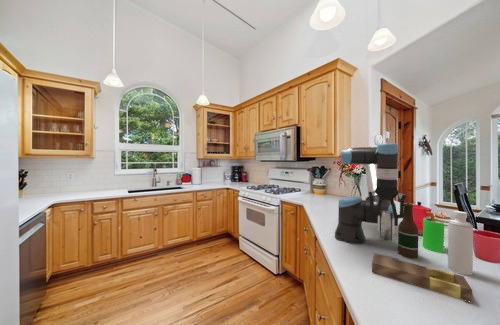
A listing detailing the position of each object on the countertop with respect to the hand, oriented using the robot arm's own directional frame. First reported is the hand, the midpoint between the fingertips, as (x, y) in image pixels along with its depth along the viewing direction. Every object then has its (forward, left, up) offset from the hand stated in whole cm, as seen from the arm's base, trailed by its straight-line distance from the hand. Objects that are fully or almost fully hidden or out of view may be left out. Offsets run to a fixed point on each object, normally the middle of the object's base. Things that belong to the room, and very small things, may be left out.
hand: (385, 231), depth 84 cm
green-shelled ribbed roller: (+19, +30, -13) cm, 37 cm away
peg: (0, 0, -3) cm, 3 cm away
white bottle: (+24, +9, -13) cm, 29 cm away
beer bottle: (+8, +12, -13) cm, 19 cm away
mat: (0, 0, -13) cm, 13 cm away
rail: (+9, -11, -13) cm, 19 cm away
